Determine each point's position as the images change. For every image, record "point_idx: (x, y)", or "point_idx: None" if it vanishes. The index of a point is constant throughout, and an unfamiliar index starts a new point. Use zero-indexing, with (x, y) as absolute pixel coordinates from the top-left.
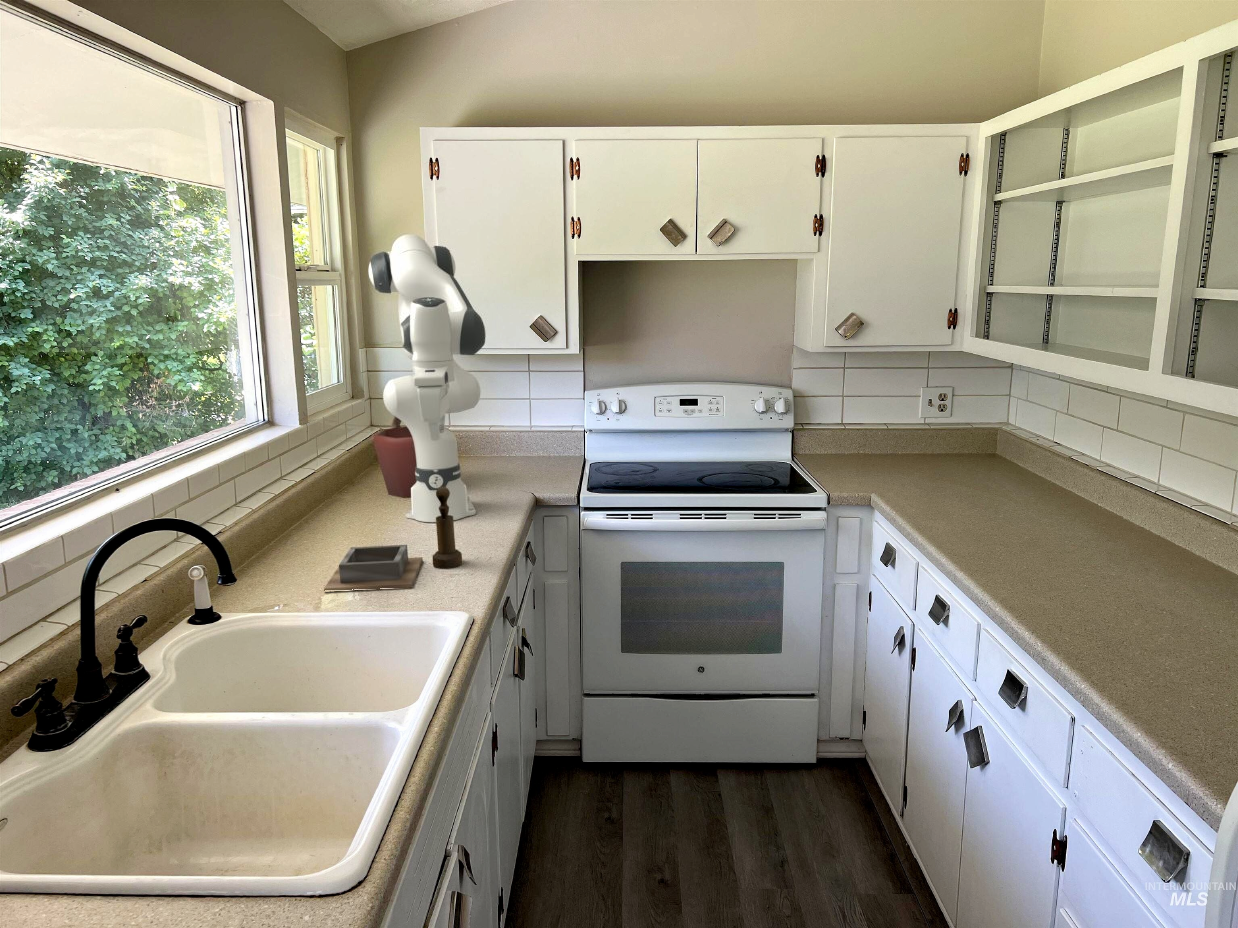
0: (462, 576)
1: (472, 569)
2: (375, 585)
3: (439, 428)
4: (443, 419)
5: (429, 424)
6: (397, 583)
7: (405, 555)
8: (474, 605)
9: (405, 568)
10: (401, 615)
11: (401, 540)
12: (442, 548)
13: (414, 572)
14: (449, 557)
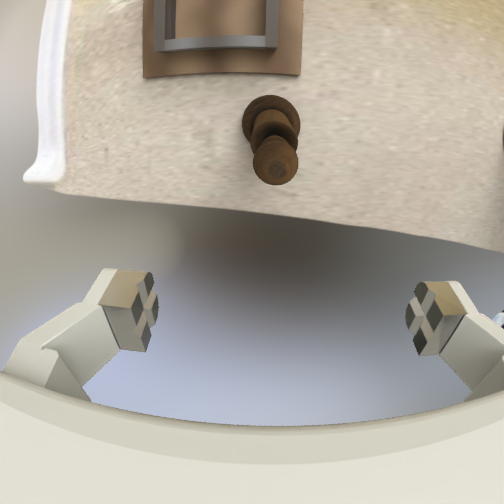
0: (196, 152)
1: (231, 166)
2: (144, 20)
3: (425, 318)
4: (465, 377)
5: (20, 353)
6: (148, 53)
7: (246, 47)
8: (81, 184)
9: (231, 49)
10: (51, 97)
11: (437, 47)
12: (254, 121)
13: (203, 69)
14: (245, 131)
